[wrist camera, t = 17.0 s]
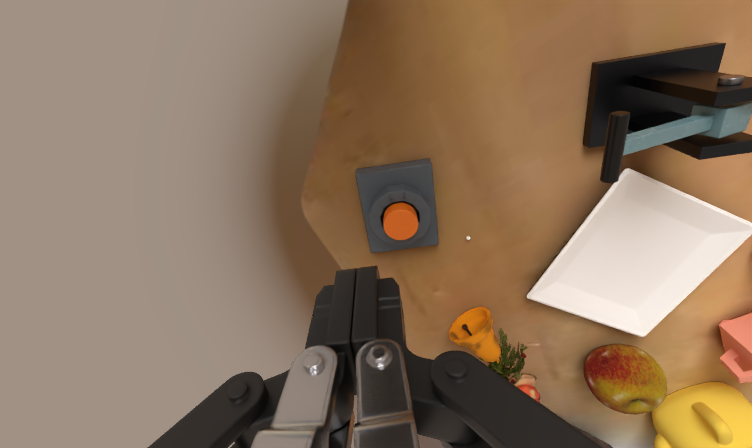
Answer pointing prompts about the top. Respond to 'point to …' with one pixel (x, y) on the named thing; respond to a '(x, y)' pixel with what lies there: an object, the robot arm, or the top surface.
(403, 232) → the button
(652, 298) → the plate
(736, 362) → the pink blocky piece
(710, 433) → the teapot
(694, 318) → the top surface
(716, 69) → the switch bracket
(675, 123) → the switch lever
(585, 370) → the fruit
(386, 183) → the control block
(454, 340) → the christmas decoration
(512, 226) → the top surface
